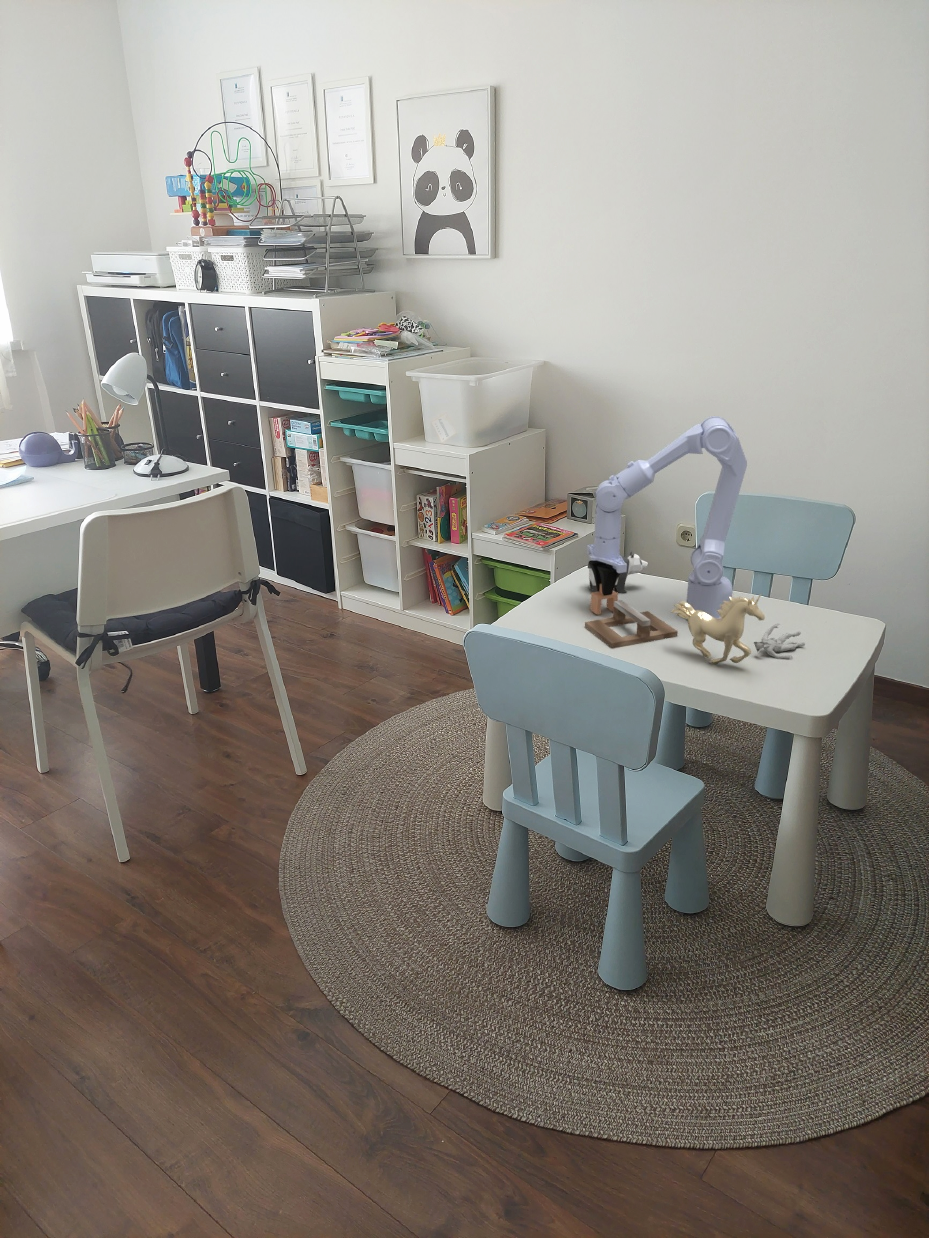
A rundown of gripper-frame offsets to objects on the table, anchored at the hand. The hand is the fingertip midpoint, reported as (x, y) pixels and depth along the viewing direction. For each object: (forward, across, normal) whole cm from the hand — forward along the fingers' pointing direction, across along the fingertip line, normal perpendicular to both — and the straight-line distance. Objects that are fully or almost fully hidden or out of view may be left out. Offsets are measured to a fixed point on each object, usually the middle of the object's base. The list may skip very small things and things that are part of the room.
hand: (604, 592), depth 203 cm
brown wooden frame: (+5, +12, 0) cm, 13 cm away
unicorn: (+5, +31, +7) cm, 32 cm away
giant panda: (+5, -11, +9) cm, 15 cm away
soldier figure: (+5, +32, +23) cm, 40 cm away
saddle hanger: (+4, 0, 0) cm, 4 cm away
